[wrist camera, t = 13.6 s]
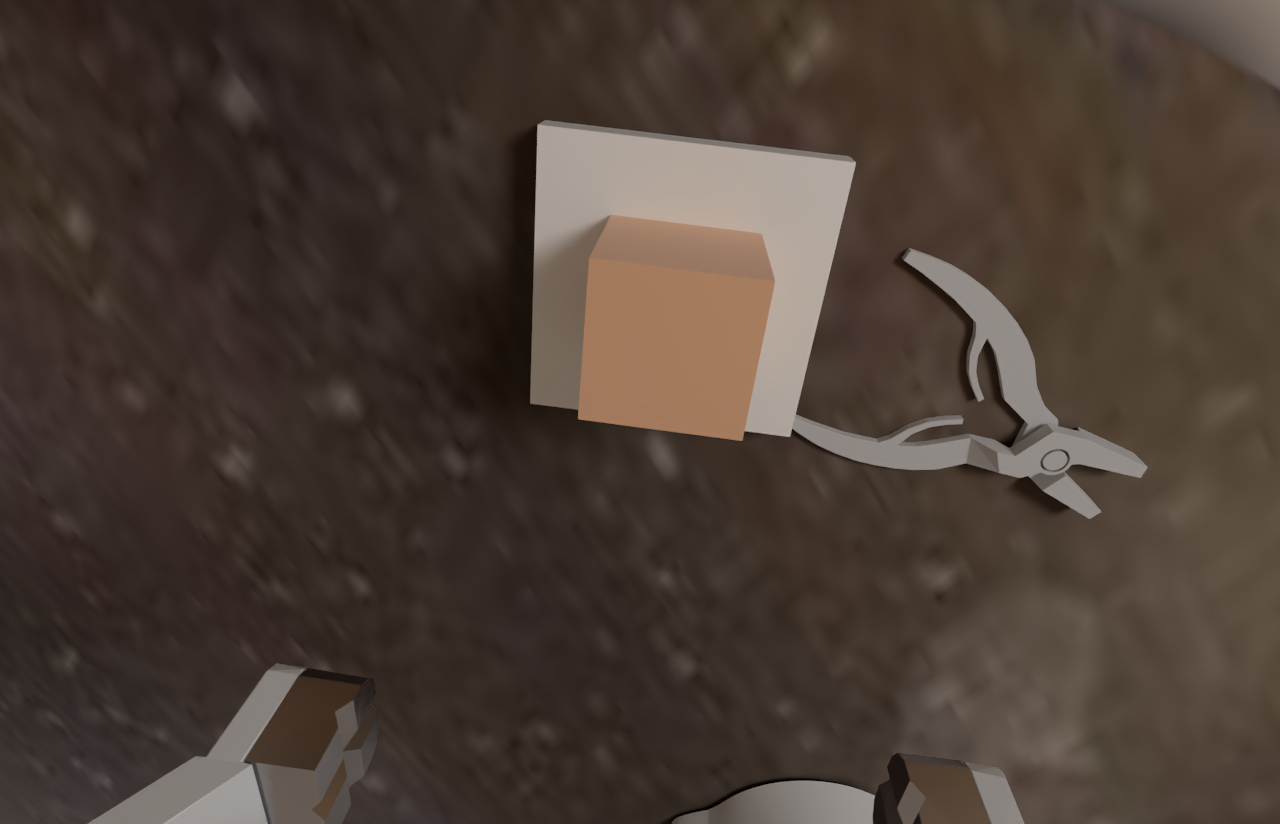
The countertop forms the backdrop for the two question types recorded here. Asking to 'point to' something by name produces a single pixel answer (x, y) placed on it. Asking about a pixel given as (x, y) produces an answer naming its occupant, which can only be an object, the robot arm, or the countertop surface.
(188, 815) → the robot arm
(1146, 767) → the countertop surface
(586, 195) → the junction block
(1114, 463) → the pliers
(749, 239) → the tan cardboard cube
